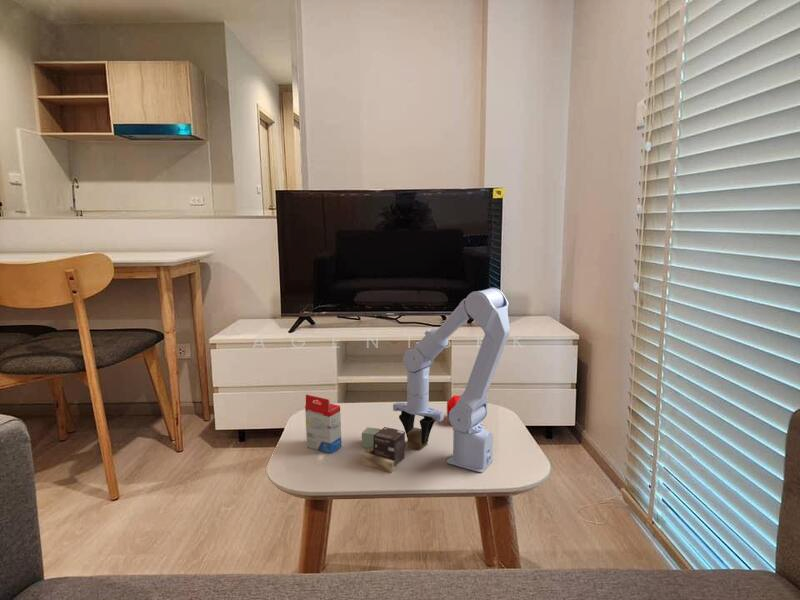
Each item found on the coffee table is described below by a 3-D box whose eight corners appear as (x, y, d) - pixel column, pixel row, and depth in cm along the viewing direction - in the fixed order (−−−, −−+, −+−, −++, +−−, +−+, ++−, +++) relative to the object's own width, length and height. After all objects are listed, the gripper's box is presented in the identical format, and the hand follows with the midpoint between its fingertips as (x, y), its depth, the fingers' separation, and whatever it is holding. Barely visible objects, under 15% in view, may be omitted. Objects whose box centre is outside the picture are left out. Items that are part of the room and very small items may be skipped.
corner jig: (410, 457, 122) (410, 448, 121) (391, 472, 114) (391, 463, 114) (381, 449, 126) (381, 440, 126) (361, 463, 119) (361, 453, 118)
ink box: (342, 447, 128) (341, 394, 125) (330, 454, 123) (329, 400, 121) (317, 440, 132) (316, 389, 130) (305, 446, 128) (304, 394, 126)
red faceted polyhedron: (446, 416, 149) (446, 393, 148) (472, 417, 148) (472, 393, 147) (447, 427, 141) (448, 402, 140) (475, 427, 140) (475, 402, 139)
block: (380, 442, 130) (380, 428, 130) (375, 449, 127) (375, 434, 126) (367, 440, 132) (367, 427, 131) (361, 447, 128) (361, 432, 127)
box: (372, 462, 119) (372, 435, 118) (384, 453, 124) (384, 426, 123) (394, 468, 116) (394, 440, 115) (405, 458, 121) (405, 430, 120)
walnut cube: (427, 444, 129) (427, 430, 129) (420, 450, 126) (420, 435, 125) (414, 441, 131) (414, 427, 131) (407, 446, 128) (407, 432, 127)
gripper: (449, 392, 126) (448, 441, 128) (402, 383, 133) (402, 429, 135) (436, 400, 120) (436, 451, 122) (388, 390, 128) (388, 438, 129)
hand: (417, 440), depth 128 cm, fingers closed on walnut cube, 4 cm apart
